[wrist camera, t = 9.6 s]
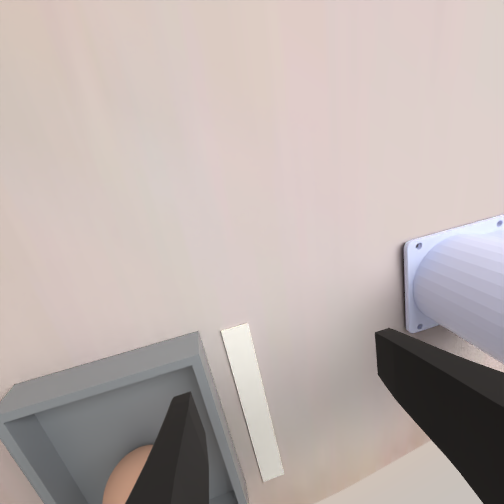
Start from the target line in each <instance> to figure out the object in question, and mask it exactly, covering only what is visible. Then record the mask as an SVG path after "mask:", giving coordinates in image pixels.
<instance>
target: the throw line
mask: <svg viewBox="0 0 504 504" xmlns="http://www.w3.org/2000/svg"><path fill="white" fill-rule="evenodd" d="M221 333H222V337H223V340H224V344H225V348H226V351H227V355H228V358H229V362H230V365H231V369H232V373H233V376H234V380H235V383H236V387H237V390H238V394H239V397H240V401H241V405H242V408H243V412H244V415H245V419H246V422H247V426H248V430H249V433H250V437H251V440H252V444H253V447H254V451H255V454H256V458H257V462H258V465H259V469H260V472H261V476H262V479H263V482H265V481H267V480H270V479H273V478H275V477H278V476H281V475H283V474H284V470H283V466H282V462H281V458H280V453H279V449H278V445H277V441H276V437H275V433H274V429H273V424H272V420H271V416H270V412H269V408H268V404H267V400H266V395H265V391H264V387H263V383H262V379H261V375H260V371H259V366H258V362H257V358H256V354H255V350H254V346H253V342H252V337H251V333H250V329H249V325H248V323H246V324H243V325H239V326H236V327H232V328H229V329H226V330H222V331H221Z"/></svg>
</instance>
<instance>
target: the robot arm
mask: <svg viewBox="0 0 504 504" xmlns="http://www.w3.org/2000/svg"><path fill="white" fill-rule="evenodd" d="M417 244H418V246H417V247H416V245H417ZM404 276H405V310H406V330H407V331H409V332H410V333H416V332H419V331H422V330H425V329H428V328H431V327H434V326H437V325H442V326H443V327H445V328H447V329H448V330H450V331H451V332H453V333H454V334H456V335H458V336H459V337H461V338H462V339H464V340H466V341H467V342H469V343H470V344H472V345H474V346H475V347H477V348H478V349H480V350H482V351H483V352H485V353H486V354H488V355H490V356H491V357H493V358H494V359H496V360H498V361H499V362H501V363H502V364H504V214H503V215H499V216H496V217H492V218H489V219H485V220H481V221H478V222H474V223H471V224H467V225H463V226H460V227H456V228H452V229H449V230H445V231H442V232H438V233H434V234H431V235H427V236H424V237H420V238H416V239H413V240H409V241H407V242H406V243H405V245H404ZM375 340H376V354H377V368H378V375H379V377H380V378H381V380H382V381H383V383H384V384H385V385H386V387H387V388H388V390H389V391H390V392H391V394H392V395H393V397H394V398H395V399H396V400H397V402H398V403H399V404H400V405H401V406H402V407H403V409H404V410H405V411H406V412H407V413H408V414H409V415H410V416H411V418H412V419H413V420H414V421H415V422H416V423H417V424H418V425H419V427H420V428H421V429H422V430H423V431H424V432H425V433H426V434H427V435H428V437H429V438H430V439H431V440H432V441H433V442H434V443H435V444H436V445H437V447H438V448H439V449H440V450H441V451H442V452H443V453H444V454H445V455H446V457H447V458H448V459H449V460H450V461H451V463H452V464H453V465H454V466H455V467H456V469H457V470H458V471H459V472H460V473H461V475H462V476H463V477H464V479H465V480H466V481H467V483H468V484H469V485H470V487H471V488H472V489H473V490H474V492H475V493H476V494H477V496H478V497H479V498H480V500H481V501H482V502H483V504H504V373H503V372H500V371H497V370H494V369H492V368H489V367H486V366H483V365H480V364H478V363H475V362H472V361H469V360H467V359H464V358H462V357H459V356H456V355H454V354H451V353H449V352H446V351H444V350H441V349H439V348H437V347H434V346H432V345H429V344H427V343H425V342H422V341H420V340H417V339H415V338H413V337H410V336H408V335H406V334H403V333H401V332H398V331H396V330H393V329H390V328H388V329H385V330H382V331H378V332H375ZM125 504H209V462H208V451H207V442H206V433H205V430H204V427H203V425H202V422H201V419H200V416H199V413H198V410H197V407H196V405H195V402H194V399H193V396H192V393H191V391H190V392H187V393H184V394H181V395H178V396H175V397H173V399H172V400H171V403H170V406H169V408H168V411H167V413H166V416H165V419H164V421H163V424H162V426H161V428H160V431H159V433H158V436H157V438H156V440H155V442H154V445H153V447H152V449H151V451H150V454H149V456H148V458H147V460H146V462H145V465H144V467H143V469H142V471H141V473H140V475H139V477H138V479H137V481H136V483H135V485H134V487H133V489H132V491H131V493H130V495H129V497H128V499H127V501H126V502H125Z"/></svg>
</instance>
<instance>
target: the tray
mask: <svg viewBox="0 0 504 504" xmlns="http://www.w3.org/2000/svg"><path fill="white" fill-rule="evenodd" d="M190 391H191V393H192V396H193V399H194V402H195V405H196V407H197V410H198V413H199V416H200V419H201V422H202V425H203V427H204V430H205V433H206V442H207V451H208V462H209V504H249V500H248V494H247V488H246V483H245V479H244V476H243V473H242V470H241V467H240V463H239V460H238V457H237V454H236V450H235V447H234V444H233V441H232V438H231V434H230V431H229V428H228V425H227V422H226V418H225V415H224V412H223V409H222V406H221V402H220V399H219V396H218V393H217V390H216V386H215V383H214V380H213V377H212V373H211V370H210V367H209V364H208V361H207V357H206V354H205V351H204V348H203V345H202V341H201V338H200V335H199V332H198V331H197V332H193V333H190V334H187V335H183V336H180V337H176V338H173V339H169V340H166V341H163V342H159V343H156V344H152V345H149V346H145V347H142V348H139V349H135V350H132V351H128V352H125V353H121V354H118V355H115V356H111V357H108V358H104V359H101V360H97V361H94V362H91V363H87V364H84V365H80V366H77V367H74V368H70V369H67V370H63V371H60V372H56V373H53V374H50V375H46V376H43V377H39V378H36V379H32V380H29V381H26V382H22V383H19V384H15V385H14V386H13V387H12V388H11V390H10V391H9V392H8V393H7V394H6V396H5V397H4V398H3V399H2V401H1V402H0V439H1V441H2V442H3V444H4V445H5V447H6V448H7V450H8V451H9V453H10V454H11V456H12V457H13V458H14V460H15V461H16V463H17V464H18V466H19V467H20V469H21V470H22V472H23V473H24V475H25V476H26V478H27V479H28V481H29V482H30V483H31V485H32V486H33V488H34V489H35V491H36V492H37V494H38V495H39V497H40V498H41V500H42V501H43V503H44V504H102V502H103V494H104V490H105V487H106V484H107V481H108V479H109V477H110V475H111V473H112V471H113V470H114V468H115V467H116V466H117V464H118V463H119V462H120V461H121V460H122V459H123V458H124V457H125V456H126V455H127V454H128V453H130V452H131V451H133V450H135V449H137V448H139V447H141V446H145V445H154V442H155V440H156V438H157V436H158V433H159V431H160V428H161V426H162V424H163V421H164V419H165V416H166V413H167V411H168V408H169V406H170V403H171V400H172V399H173V397H175V396H178V395H181V394H184V393H187V392H190Z"/></svg>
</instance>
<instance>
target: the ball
mask: <svg viewBox="0 0 504 504" xmlns="http://www.w3.org/2000/svg"><path fill="white" fill-rule="evenodd" d="M152 447H153V445H145V446H141V447H139V448H137V449H135V450H133V451H131V452H130V453H128V454H127V455H126V456H125V457H124V458H123V459H122V460H121V461H120V462H119V463H118V464H117V466H116V467H115V468H114V470H113V471H112V473H111V475H110V477H109V479H108V481H107V484H106V487H105V490H104V494H103V502H102V504H125V502H126V501H127V499H128V497H129V495H130V493H131V491H132V489H133V487H134V485H135V483H136V481H137V479H138V477H139V475H140V473H141V471H142V469H143V467H144V465H145V462H146V460H147V458H148V456H149V454H150V451H151V449H152Z"/></svg>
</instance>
